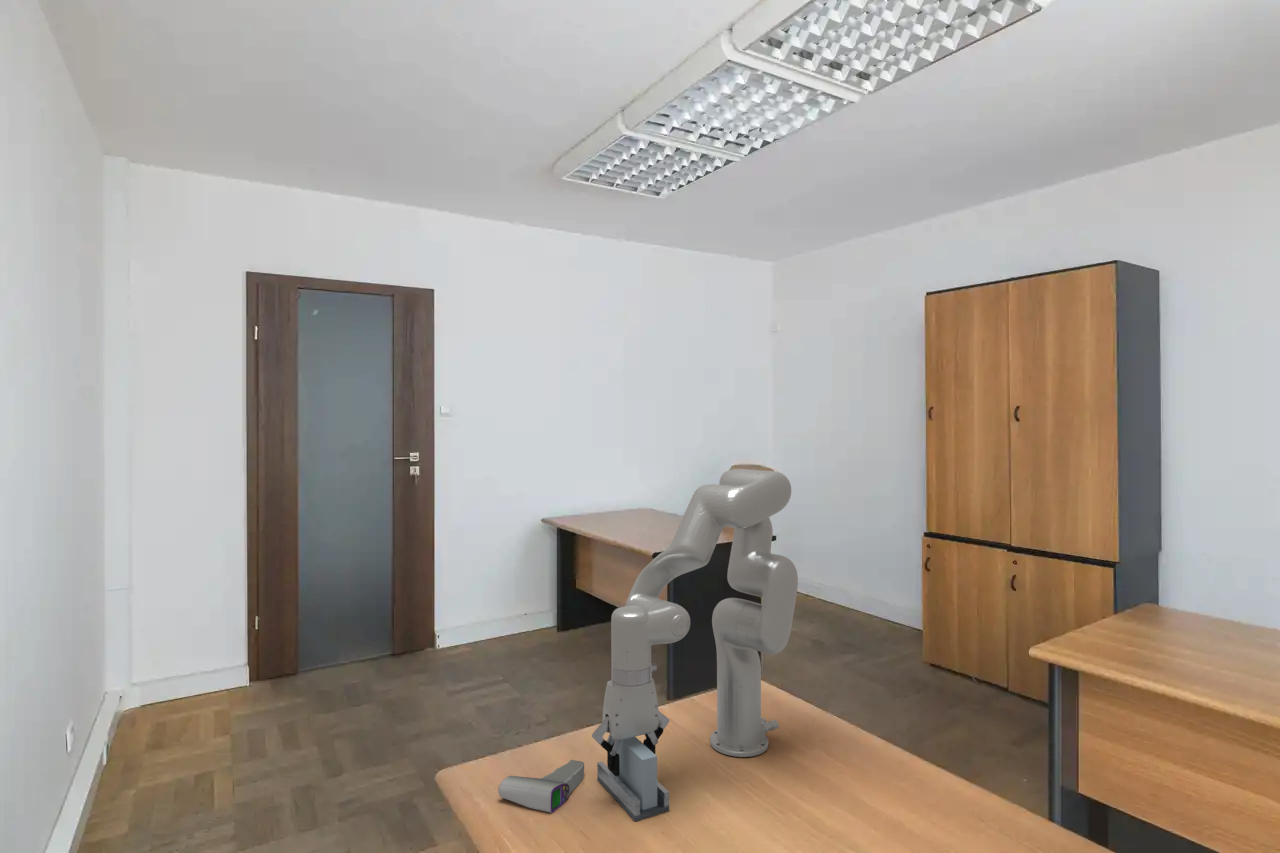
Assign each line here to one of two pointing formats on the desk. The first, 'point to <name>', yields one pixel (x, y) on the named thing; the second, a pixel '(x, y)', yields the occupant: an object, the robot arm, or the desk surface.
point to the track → (631, 795)
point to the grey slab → (639, 771)
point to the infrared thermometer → (543, 787)
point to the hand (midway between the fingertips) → (631, 767)
